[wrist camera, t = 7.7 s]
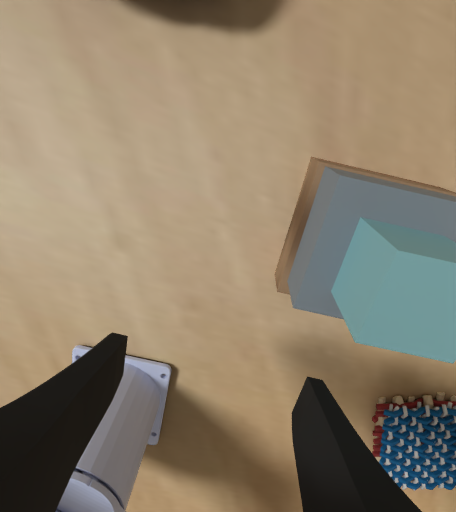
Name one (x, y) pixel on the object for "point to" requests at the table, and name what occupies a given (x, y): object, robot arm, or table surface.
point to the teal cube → (399, 290)
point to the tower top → (344, 225)
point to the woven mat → (417, 441)
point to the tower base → (306, 204)
